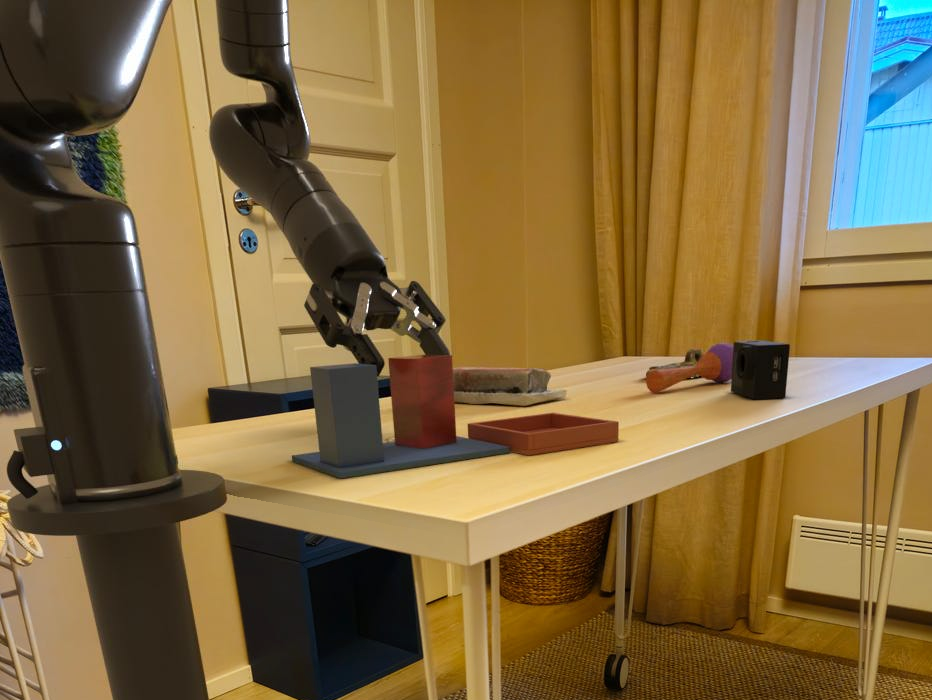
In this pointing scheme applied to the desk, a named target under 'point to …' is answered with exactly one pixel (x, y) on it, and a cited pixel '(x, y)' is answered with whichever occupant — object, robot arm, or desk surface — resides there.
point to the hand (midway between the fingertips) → (412, 367)
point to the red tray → (545, 432)
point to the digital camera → (760, 369)
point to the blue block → (347, 414)
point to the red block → (423, 400)
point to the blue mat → (407, 457)
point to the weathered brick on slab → (503, 386)
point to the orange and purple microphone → (696, 369)
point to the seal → (690, 361)
